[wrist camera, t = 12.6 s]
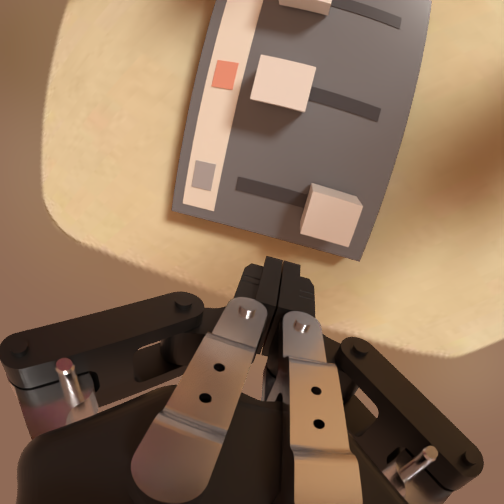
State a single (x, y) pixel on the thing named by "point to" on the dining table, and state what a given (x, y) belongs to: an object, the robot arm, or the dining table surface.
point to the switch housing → (299, 114)
